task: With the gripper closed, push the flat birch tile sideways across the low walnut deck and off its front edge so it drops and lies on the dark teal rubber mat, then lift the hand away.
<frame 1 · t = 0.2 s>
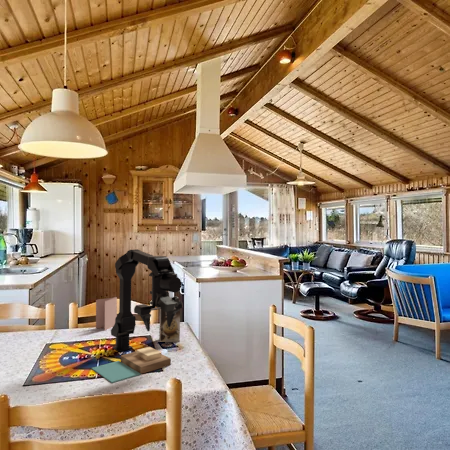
hand: (158, 328, 145), 14 cm above the table, tool pointing down, fingers open, 9 cm apart
coffee box: (169, 340, 176), on the table
birch tile: (148, 356, 148), point 2 cm above the table, touching walnut deck
teal mat: (115, 371, 139), on the table
walnut deck: (145, 363, 147), on the table
greeting card: (108, 328, 197), on the table
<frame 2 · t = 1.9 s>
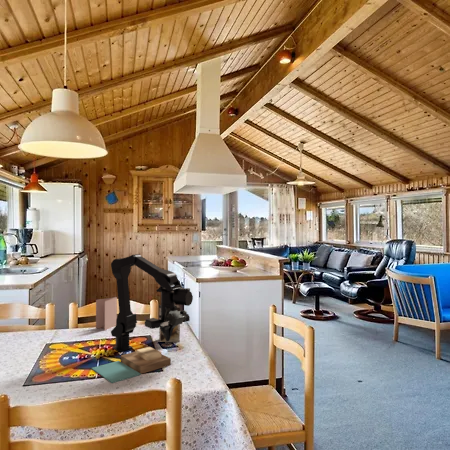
hand: (167, 340, 154), 7 cm above the table, tool pointing down, fingers closed
nothing on the table moved.
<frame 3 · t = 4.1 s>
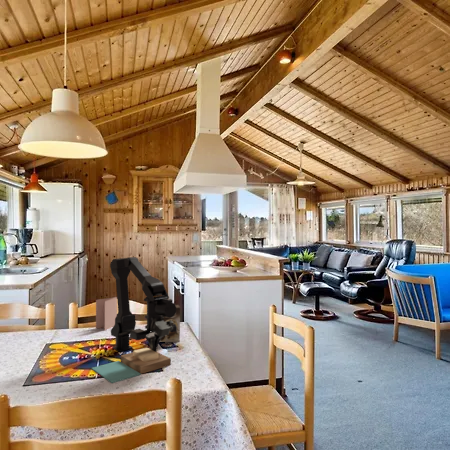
hand: (154, 352, 150), 4 cm above the table, tool pointing down, fingers closed
birch tile: (145, 357, 147), point 3 cm above the table, touching gripper, walnut deck
everything else where it was.
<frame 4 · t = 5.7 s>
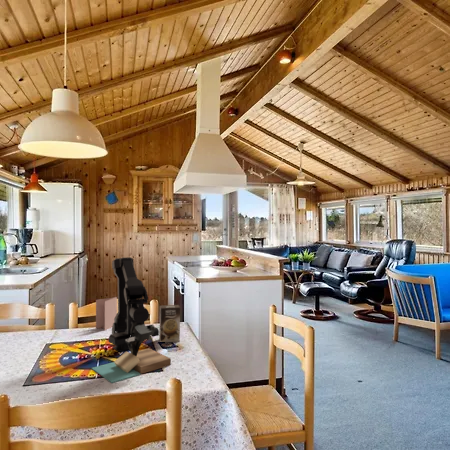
hand: (134, 357, 144), 4 cm above the table, tool pointing down, fingers closed
birch tile: (128, 363, 142), point 2 cm above the table, tilted 30°, touching gripper
everything else where it was.
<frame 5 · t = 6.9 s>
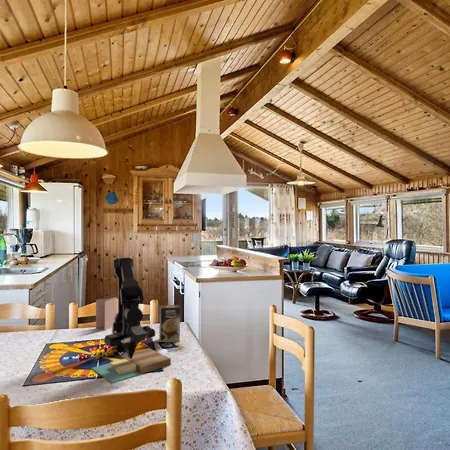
hand: (130, 358, 143), 4 cm above the table, tool pointing down, fingers closed
birch tile: (123, 368, 140), resting on teal mat
everything else where it was.
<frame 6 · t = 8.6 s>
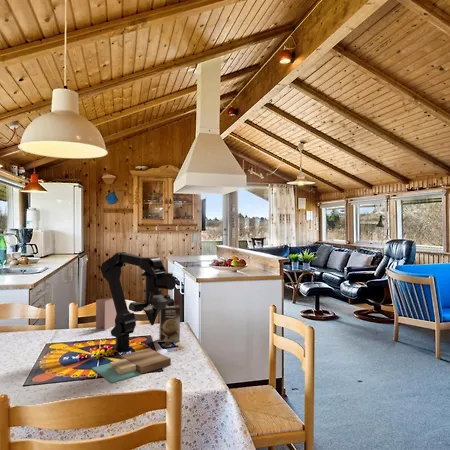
hand: (152, 325, 155), 13 cm above the table, tool pointing down, fingers closed
nothing on the table moved.
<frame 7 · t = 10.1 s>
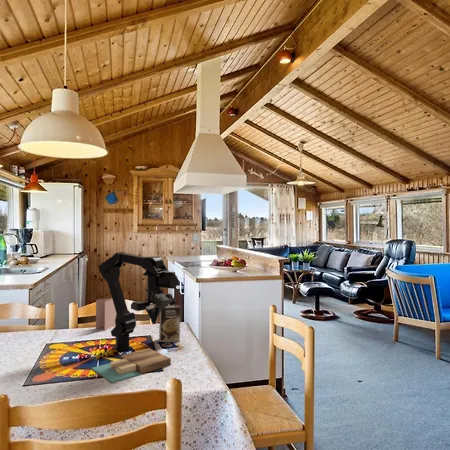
hand: (153, 323, 156), 13 cm above the table, tool pointing down, fingers closed
nothing on the table moved.
at the end: birch tile inside the target area on the teal mat (2.8 cm from its centre), point 0.4 cm above the teal mat's base; birch tile touching teal mat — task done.
